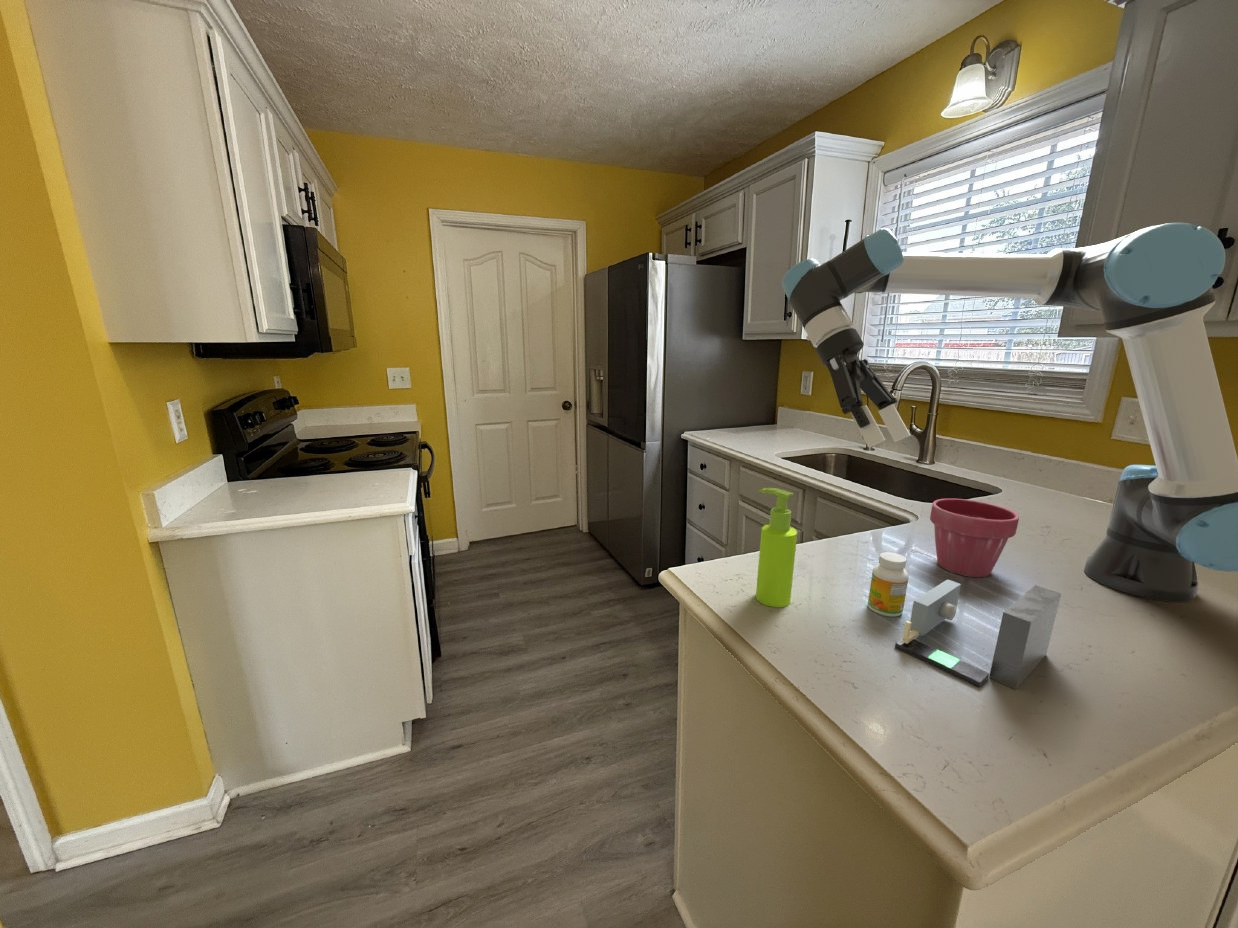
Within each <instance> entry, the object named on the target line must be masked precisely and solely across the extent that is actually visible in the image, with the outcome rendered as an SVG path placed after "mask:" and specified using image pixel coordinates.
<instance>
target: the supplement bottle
mask: <svg viewBox="0 0 1238 928" xmlns="http://www.w3.org/2000/svg"><path fill="white" fill-rule="evenodd" d="M906 567H907V558H906V557H905V556H903V555H902V554H900V553H897V552H896V553H895V552H890V551H889V552H888V551H886V552H881V553H880V554H879V557H878V564H876V565H875V566H873V568H872V574H871V580H870V587H869V592H868V599H867V606H868V608H869V610H871V611H873V612H874V613H876V614H879V615H881V616H884V617H889V618H890V617H894V618H895V617H899V616H900V615H902V614H903V612H904V607H905V601H906V596H907V595H906V594H907V589H908V583H909V573H908V571H907V570H906Z"/></svg>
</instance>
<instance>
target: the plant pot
mask: <svg viewBox="0 0 1238 928" xmlns="http://www.w3.org/2000/svg"><path fill="white" fill-rule="evenodd" d="M1019 519H1020V516H1019V515H1018V513H1017V512H1015V511H1013V510H1011V509H1009V508H1006V507H1003V506H1000V505H997V504H992V503H988V502H985V501H984V502H982V501H977V500H972V499H963V498H940V499H936V500H934V501H933V502H932V505H931V510H930V515H929V520H930V522H931V523H932V524H934V525H933V527H934V528H933V529H934V540H935V541H934V544H935V552H936V562H937V564H938V565H939V566H940V568H942V569H944V570H946V571H948V572H951V573H953V574H957V575H961V576H965V577H970V578H987V577H989V576H990V575H991V573H992V572H993V570H994V567H995V565H996V564H997V562H998V561H999V558H1000V556H1001V555H1002V552H1003V550H1004V549H1005V546H1006V544H1007V542H1008V541H1009V540H1008V539H1009V538H1013V537H1014V536H1016V534H1017V529H1018V526H1019Z"/></svg>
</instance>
